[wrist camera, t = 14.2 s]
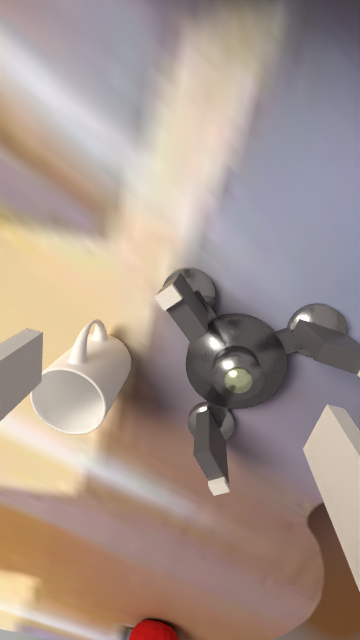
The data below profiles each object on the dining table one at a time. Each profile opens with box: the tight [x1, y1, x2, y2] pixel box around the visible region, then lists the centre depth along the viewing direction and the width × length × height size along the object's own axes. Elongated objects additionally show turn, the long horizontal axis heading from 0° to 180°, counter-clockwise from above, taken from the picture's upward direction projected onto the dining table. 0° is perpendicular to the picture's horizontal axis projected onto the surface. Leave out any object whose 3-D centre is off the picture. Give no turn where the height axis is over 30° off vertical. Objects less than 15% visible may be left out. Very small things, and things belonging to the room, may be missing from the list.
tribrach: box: [163, 268, 347, 440], centre depth 34 cm, size 25×24×6 cm
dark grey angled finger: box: [193, 409, 230, 496], centre depth 35 cm, size 6×2×8 cm, turn 26°
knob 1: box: [154, 272, 208, 343], centre depth 29 cm, size 6×2×8 cm, turn 35°
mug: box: [30, 319, 131, 435], centre depth 33 cm, size 9×12×11 cm
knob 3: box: [292, 318, 360, 377], centre depth 29 cm, size 6×2×8 cm, turn 73°
